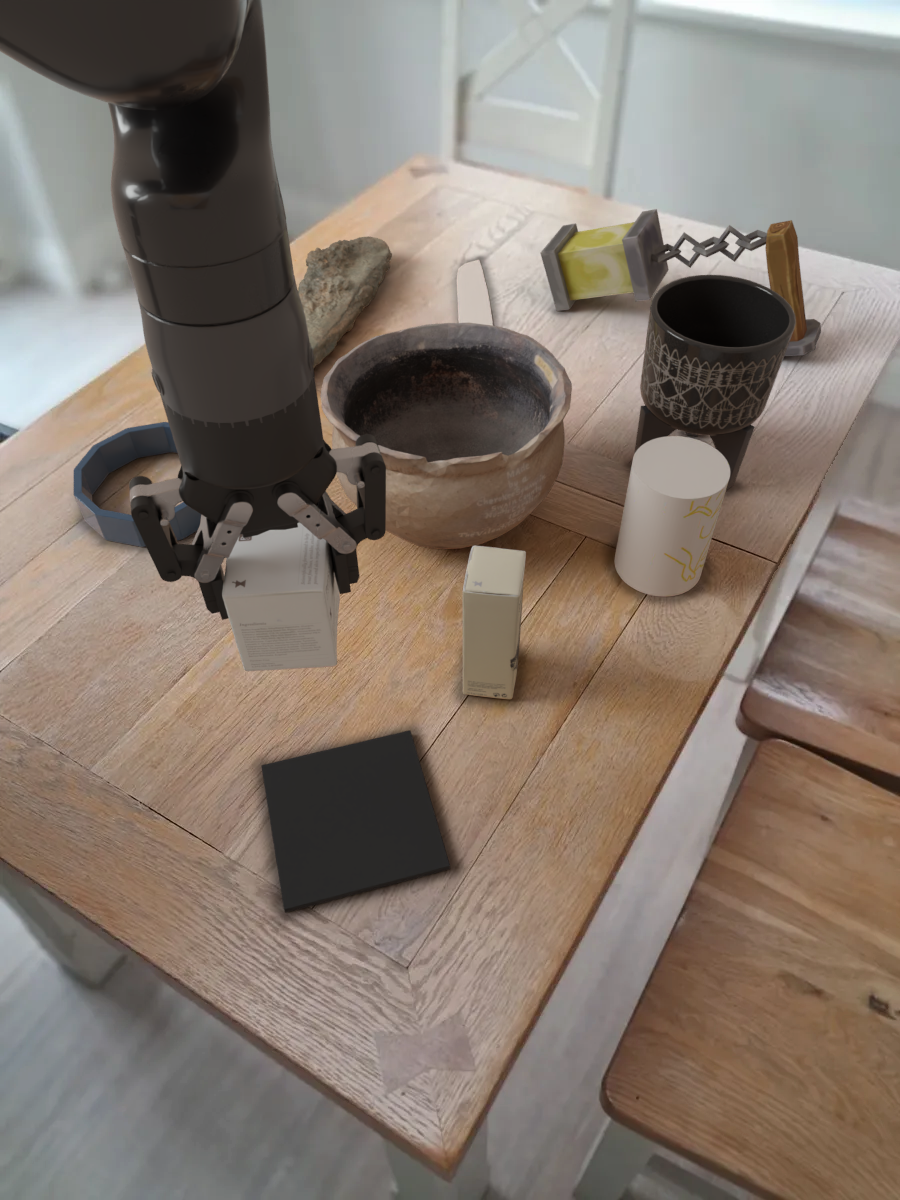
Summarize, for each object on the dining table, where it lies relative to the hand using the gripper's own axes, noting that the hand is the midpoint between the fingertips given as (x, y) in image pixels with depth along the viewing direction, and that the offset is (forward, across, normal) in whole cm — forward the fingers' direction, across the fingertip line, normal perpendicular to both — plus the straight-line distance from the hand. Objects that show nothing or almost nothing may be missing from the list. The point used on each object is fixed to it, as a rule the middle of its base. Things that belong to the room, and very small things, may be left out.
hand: (284, 595), depth 56 cm
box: (+20, -16, -4) cm, 26 cm away
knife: (+20, -30, -56) cm, 67 cm away
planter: (+20, -44, -25) cm, 54 cm away
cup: (+20, -35, -12) cm, 42 cm away
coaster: (+20, -1, +5) cm, 21 cm away
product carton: (+4, 0, 0) cm, 4 cm away
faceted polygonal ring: (+20, +10, -36) cm, 42 cm away
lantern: (+20, -54, -50) cm, 77 cm away
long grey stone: (+20, -12, -63) cm, 67 cm away
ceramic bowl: (+20, -18, -26) cm, 37 cm away
